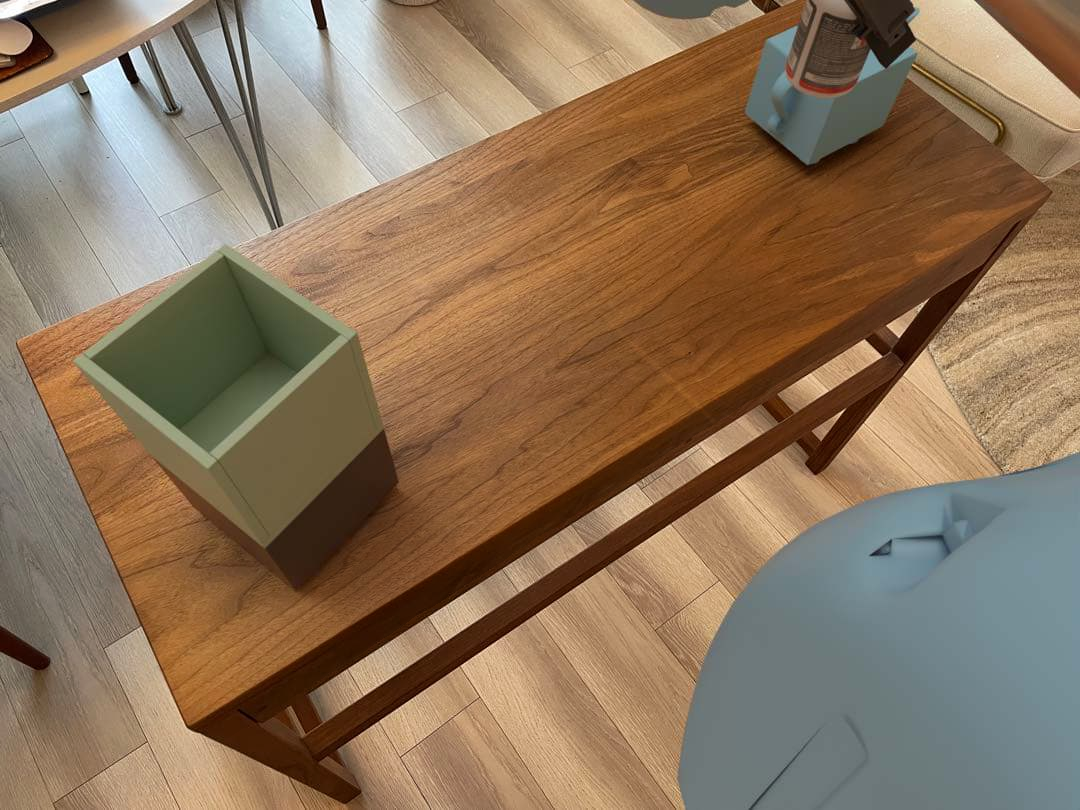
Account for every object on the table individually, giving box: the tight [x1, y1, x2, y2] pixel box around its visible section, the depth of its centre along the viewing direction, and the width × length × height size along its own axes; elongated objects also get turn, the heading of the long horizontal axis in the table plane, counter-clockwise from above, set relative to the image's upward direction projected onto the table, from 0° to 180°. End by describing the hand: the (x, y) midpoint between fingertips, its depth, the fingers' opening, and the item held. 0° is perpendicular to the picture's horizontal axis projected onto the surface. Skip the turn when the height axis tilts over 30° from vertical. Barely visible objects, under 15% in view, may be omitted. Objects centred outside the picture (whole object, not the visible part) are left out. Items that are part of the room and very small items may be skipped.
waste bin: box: [72, 244, 400, 593], centre depth 62 cm, size 13×13×23 cm
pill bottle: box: [785, 0, 870, 98], centre depth 59 cm, size 6×6×10 cm
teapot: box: [744, 6, 921, 166], centre depth 95 cm, size 22×11×14 cm, turn 125°
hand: (870, 28), depth 62 cm, fingers closed on pill bottle, 6 cm apart
